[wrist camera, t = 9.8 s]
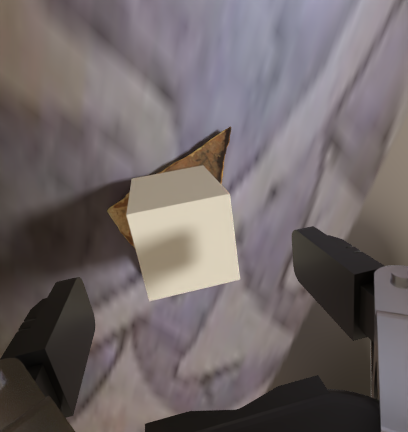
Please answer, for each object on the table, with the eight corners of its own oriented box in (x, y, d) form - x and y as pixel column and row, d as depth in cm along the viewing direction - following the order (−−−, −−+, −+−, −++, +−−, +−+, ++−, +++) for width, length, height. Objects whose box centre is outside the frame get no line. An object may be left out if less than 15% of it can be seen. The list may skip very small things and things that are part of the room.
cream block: (203, 165, 21) (229, 193, 14) (212, 229, 23) (240, 279, 16) (131, 178, 20) (126, 214, 14) (147, 243, 22) (149, 301, 16)
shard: (225, 126, 22) (232, 126, 21) (269, 207, 25) (278, 213, 23) (104, 203, 22) (101, 210, 21) (161, 276, 25) (162, 287, 23)
